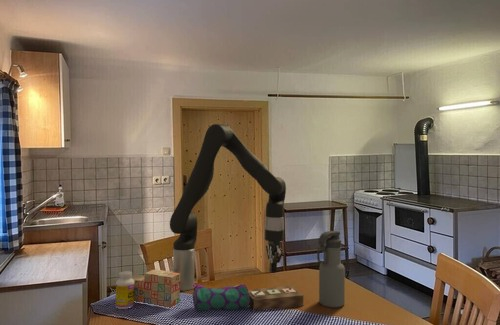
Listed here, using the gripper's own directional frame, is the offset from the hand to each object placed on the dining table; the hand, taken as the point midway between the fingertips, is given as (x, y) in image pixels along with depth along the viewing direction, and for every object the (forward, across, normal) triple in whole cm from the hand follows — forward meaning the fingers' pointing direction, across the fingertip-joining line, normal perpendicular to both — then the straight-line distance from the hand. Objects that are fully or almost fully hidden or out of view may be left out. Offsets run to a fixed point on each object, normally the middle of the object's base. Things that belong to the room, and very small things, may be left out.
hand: (273, 272), depth 148 cm
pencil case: (+12, +1, -21) cm, 25 cm away
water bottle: (+12, +8, +22) cm, 26 cm away
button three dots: (+10, 0, -6) cm, 12 cm away
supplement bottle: (+13, -11, -55) cm, 58 cm away
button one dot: (+10, 0, 0) cm, 10 cm away
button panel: (+12, 0, 0) cm, 12 cm away
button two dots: (+10, 0, +7) cm, 12 cm away
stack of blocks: (+13, -12, -45) cm, 49 cm away
